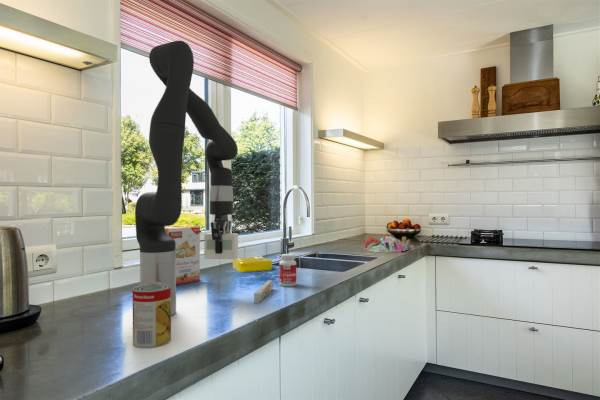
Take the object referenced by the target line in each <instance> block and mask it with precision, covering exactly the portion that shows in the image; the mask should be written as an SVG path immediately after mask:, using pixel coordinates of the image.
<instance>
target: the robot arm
mask: <svg viewBox="0 0 600 400" xmlns="http://www.w3.org/2000/svg"><path fill="white" fill-rule="evenodd" d="M148 57H149V58H148V59H149V60H148V61H149V64H150V67H151V68H152V70H153V72H154V73H155V75H156V76H157V77H158V79H159V80H160V82H161V83H163V85H164V86H165V89H164V92H163V94H162V97H160V100H159V101H158V103H157V105H156V107H155V109H154V111H153V113H152V116H151V119H150V123H149V133H148V134H149V135H148V145H149V149H150V151H151V155H152V157H153V159H154V162H155V164H156V168H157V187H156V191H148V192H145V193H142V194H141V195H140V196H139V197H138V198H137V201H136V204H135V209H134V217H135V218H134V221H135V222H134V223H135V235H136V240H137V243H138V245H139V282H138V283H139V285H145V284H157V283H159V284H169V285H170V286H171V316H172V315H173V316H174V315H175V314H176V312H177V284H176V250H175V249H176V245H175V240H174V239H173V238H171V237H170V236H169V235H168V234H167V233H166V231H165V228H166V227H169V226H170V227H171V226H173V225H175V224H176V223H177V221H179V218H180V217H181V214H182V213H181V212H182V202H183V200H182V199H183V197H182V196H183V193H182V191H183V189H182V187H183V186H182V169H183V156H184V155H183V153H184V152H183V151H184V145H185V144H184V143H185V132H186V119H187V118H186V117H187V115H188V116H189V118H190V120H191V122H192V123H193V125H194V127H195V128H196V130H197V133H199V135H200V136H201V138H203V139H204V140H209V141H208V142H207V144H206V146H205V157H206V162H207V164H208V169H209V173H210V188H209V214H210V215H212V216H214V219H213V221H211V222H210V231H211V232H210V233H212V240H214V241H215V253H216V254H221V253H222V241H223V235H224V234H225V233H231V226H232V221H231V220H229V215H231V216H232V215H233V213H234V191H233V171H232V169H230V168H228V167H225V166H224V164H223V161H232V160H234V159H236V157H237V155H238V153H239V151H238V150H239V149H238V145H237V142H236V141H235V139H234V138H233V137H232V136H231V134H229V132H228V131H227V129H225V128H224V127H223V126H222V125H221V124H220V122H219V120H218V118H217V116H216V114H215V112H214V111H213V109H212V108H211V107H210V105H209V103H207V102H206V101H205V100H204V99H203V98H201V97H200V96H199V95H198V94H197V93H195V92H194V90H192V89H191V88H190V87H191V82H192V78H193V73H194V65H195V63H194V61H195V60H194V52H193V51H192V48H191V47H190V45H189V44H188V43H187V42H185V41H183V40H173V41H170V42H166V43H163V44H160V45H156V46H154V47H153V48H152V49H151V50H150V52H149V56H148ZM217 235H218V236H217ZM139 285H138V286H139Z"/></svg>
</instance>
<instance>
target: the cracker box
mask: <svg viewBox="0 0 600 400" xmlns="http://www.w3.org/2000/svg"><path fill="white" fill-rule="evenodd" d="M165 231H166V233H167V234H168V235H169V236H170V237H171V238H173V239H174V240H175V245H176V249H175V250H176V285H180V284H181V285H182V284H188V283H193V282H197V281H200V278H201V276H200V274H201V273H200V267H201V265H200V264H201V261H200V260H201V227H200V226H190V225H189V226H174V227H165Z"/></svg>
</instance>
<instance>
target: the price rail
mask: <svg viewBox="0 0 600 400" xmlns="http://www.w3.org/2000/svg"><path fill="white" fill-rule="evenodd" d="M273 289H274V282H273V280H270V279H268V280H267V281H266V282H264V283H263V284H262V285H261V286H260V287H259V288H258V289H257V290H256V291H255V292H254V293H253V304H260V303H262V301H264V299H266V297H267V296H268V295H269V294H270V293H271V292H272V291H273Z"/></svg>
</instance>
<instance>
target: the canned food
mask: <svg viewBox="0 0 600 400" xmlns="http://www.w3.org/2000/svg"><path fill="white" fill-rule="evenodd" d="M171 341H172V315H171V286H170V285H169V284H159V283H157V284H145V285H136V286H133V288H132V345H133V346H134V347H136V348H139V349H152V348H158V347H162V346H165V345H167V344H170V342H171Z"/></svg>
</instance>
